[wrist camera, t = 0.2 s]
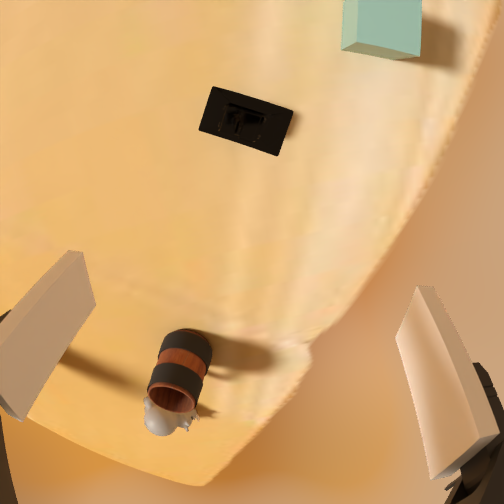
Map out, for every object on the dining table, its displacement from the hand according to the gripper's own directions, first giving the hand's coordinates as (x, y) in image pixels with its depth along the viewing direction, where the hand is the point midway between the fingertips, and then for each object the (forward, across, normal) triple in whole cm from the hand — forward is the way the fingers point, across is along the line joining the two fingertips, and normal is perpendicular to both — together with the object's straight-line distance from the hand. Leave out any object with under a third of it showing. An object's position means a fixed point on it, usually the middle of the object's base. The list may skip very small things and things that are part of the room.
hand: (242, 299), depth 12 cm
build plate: (+28, -3, +3) cm, 28 cm away
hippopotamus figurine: (+28, -16, -54) cm, 63 cm away
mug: (+28, -12, -35) cm, 46 cm away
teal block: (+27, +10, +15) cm, 33 cm away
